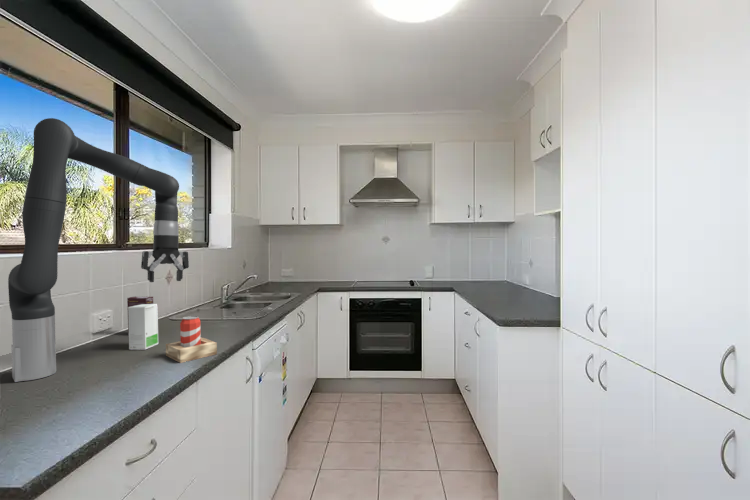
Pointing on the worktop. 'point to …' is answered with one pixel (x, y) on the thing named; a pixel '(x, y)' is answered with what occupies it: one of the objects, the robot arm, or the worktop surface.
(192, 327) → the beverage can
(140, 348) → the skincare box
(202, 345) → the holder block
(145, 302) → the supplement box
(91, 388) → the worktop surface
